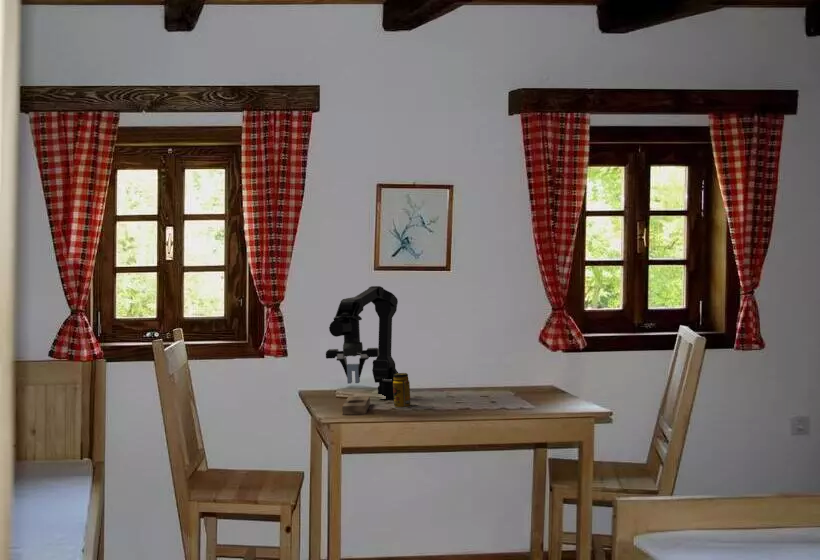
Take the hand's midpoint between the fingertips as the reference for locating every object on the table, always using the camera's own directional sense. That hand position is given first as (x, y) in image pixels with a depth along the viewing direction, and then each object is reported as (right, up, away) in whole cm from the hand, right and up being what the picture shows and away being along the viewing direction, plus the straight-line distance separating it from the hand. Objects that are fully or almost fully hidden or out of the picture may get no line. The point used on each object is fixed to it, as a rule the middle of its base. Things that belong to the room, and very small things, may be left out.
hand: (353, 377), depth 377 cm
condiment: (+18, -11, +3) cm, 22 cm away
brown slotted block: (+1, -12, +1) cm, 12 cm away
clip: (0, -2, 0) cm, 2 cm away
